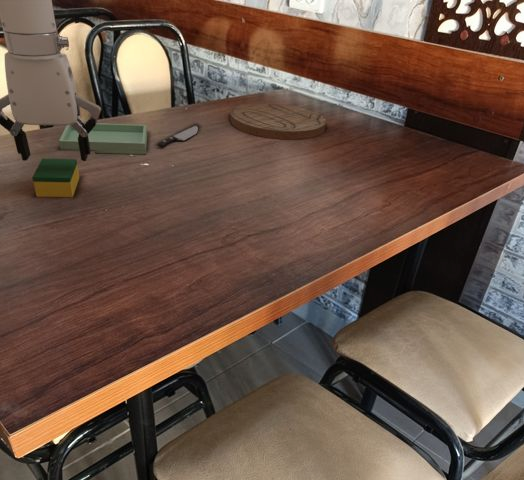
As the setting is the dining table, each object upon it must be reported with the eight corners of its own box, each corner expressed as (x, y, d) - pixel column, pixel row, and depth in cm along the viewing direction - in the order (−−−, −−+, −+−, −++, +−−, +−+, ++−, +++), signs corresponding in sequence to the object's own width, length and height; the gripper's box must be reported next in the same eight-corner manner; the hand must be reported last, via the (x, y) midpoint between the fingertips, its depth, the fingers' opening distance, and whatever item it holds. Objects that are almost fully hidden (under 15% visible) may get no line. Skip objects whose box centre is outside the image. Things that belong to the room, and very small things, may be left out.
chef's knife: (207, 129, 125) (196, 126, 126) (207, 125, 124) (196, 122, 125) (168, 150, 111) (156, 147, 112) (168, 145, 110) (156, 142, 111)
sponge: (37, 199, 87) (32, 177, 85) (46, 179, 94) (42, 158, 92) (73, 200, 88) (69, 177, 86) (79, 180, 95) (76, 159, 93)
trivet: (275, 106, 146) (276, 98, 145) (344, 129, 134) (345, 121, 133) (210, 118, 132) (210, 111, 131) (280, 146, 119) (281, 137, 118)
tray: (60, 152, 106) (58, 140, 104) (69, 132, 115) (67, 122, 114) (145, 154, 108) (144, 143, 107) (147, 135, 118) (146, 124, 117)
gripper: (94, 42, 81) (109, 151, 92) (-21, 38, 78) (8, 150, 89) (89, 51, 75) (105, 166, 86) (-36, 46, 73) (-3, 165, 84)
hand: (56, 158), depth 88 cm, fingers open, 9 cm apart
